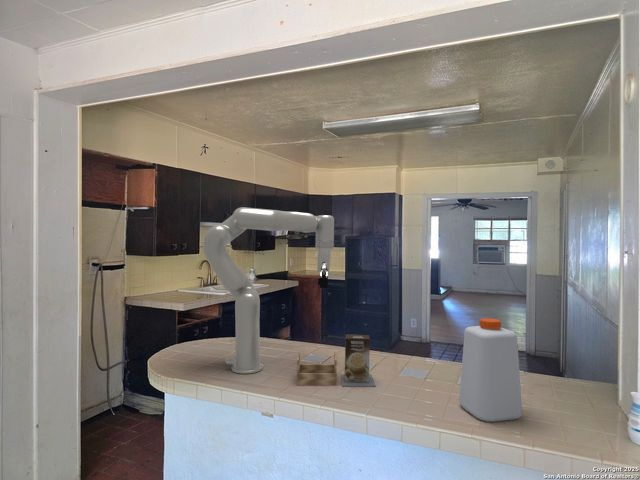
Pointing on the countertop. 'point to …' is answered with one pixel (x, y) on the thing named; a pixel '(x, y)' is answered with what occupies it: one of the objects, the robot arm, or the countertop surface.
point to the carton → (316, 373)
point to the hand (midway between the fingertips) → (323, 286)
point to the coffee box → (357, 358)
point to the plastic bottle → (490, 372)
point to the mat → (358, 384)
